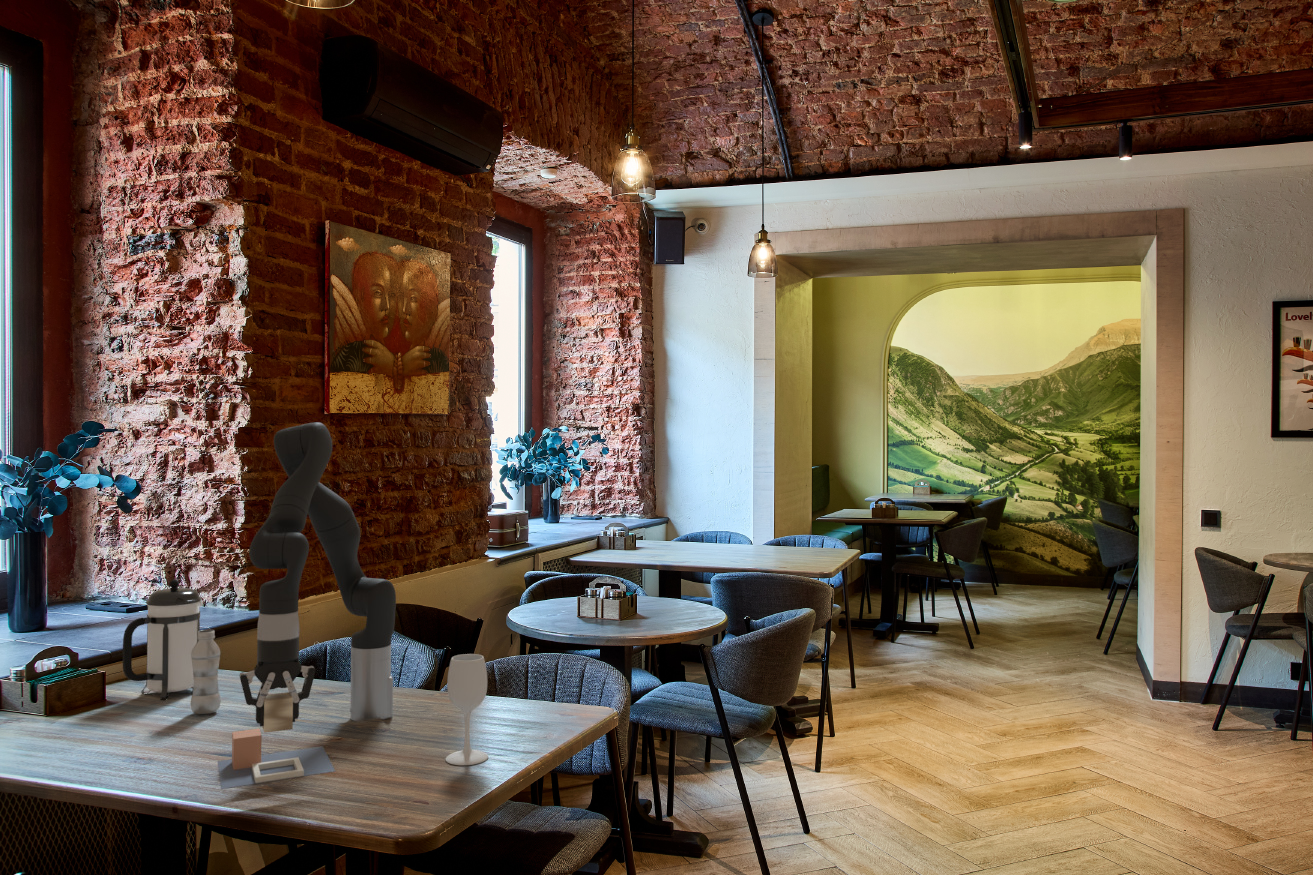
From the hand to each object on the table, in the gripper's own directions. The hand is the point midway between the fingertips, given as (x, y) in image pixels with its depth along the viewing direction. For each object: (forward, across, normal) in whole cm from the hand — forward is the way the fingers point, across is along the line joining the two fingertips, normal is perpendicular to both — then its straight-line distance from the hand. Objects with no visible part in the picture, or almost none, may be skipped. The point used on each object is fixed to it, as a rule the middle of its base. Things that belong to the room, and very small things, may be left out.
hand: (277, 722), depth 175 cm
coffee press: (+11, +19, -81) cm, 84 cm away
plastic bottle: (+11, +11, -57) cm, 59 cm away
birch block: (+1, 0, 0) cm, 1 cm away
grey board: (+11, 0, -4) cm, 12 cm away
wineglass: (+11, -36, +5) cm, 38 cm away
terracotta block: (+10, +5, -8) cm, 13 cm away
